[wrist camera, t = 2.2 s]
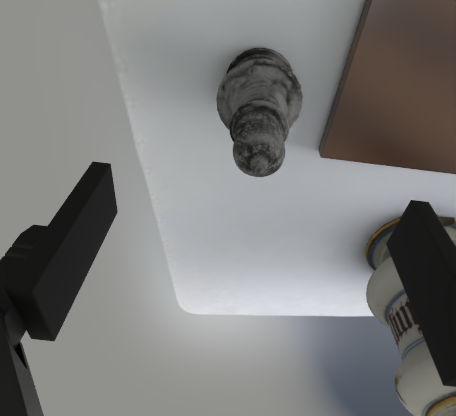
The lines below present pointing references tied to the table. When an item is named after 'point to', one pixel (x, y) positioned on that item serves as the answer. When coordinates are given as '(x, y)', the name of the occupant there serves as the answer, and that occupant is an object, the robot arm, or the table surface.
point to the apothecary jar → (407, 330)
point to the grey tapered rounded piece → (259, 109)
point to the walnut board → (398, 88)
